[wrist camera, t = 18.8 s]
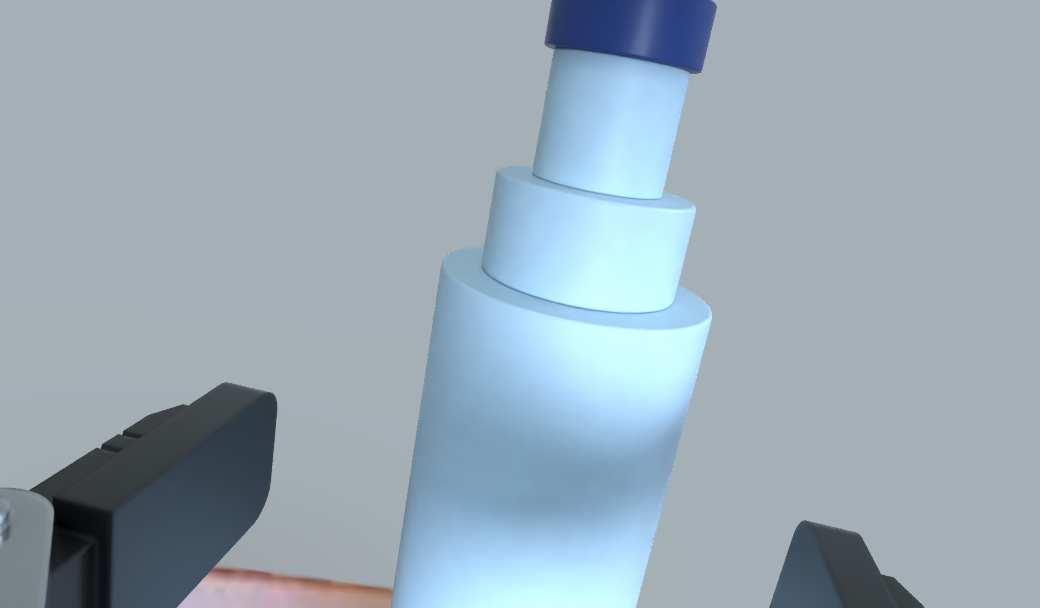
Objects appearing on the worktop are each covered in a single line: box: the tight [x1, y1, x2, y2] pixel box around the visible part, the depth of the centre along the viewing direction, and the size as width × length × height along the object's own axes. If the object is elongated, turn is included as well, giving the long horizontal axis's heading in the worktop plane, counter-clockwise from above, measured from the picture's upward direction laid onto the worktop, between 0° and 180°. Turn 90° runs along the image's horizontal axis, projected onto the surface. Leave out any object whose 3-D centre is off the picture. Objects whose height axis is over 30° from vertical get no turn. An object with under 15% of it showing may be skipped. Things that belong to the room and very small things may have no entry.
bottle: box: [391, 0, 717, 608], centre depth 16 cm, size 6×6×20 cm
